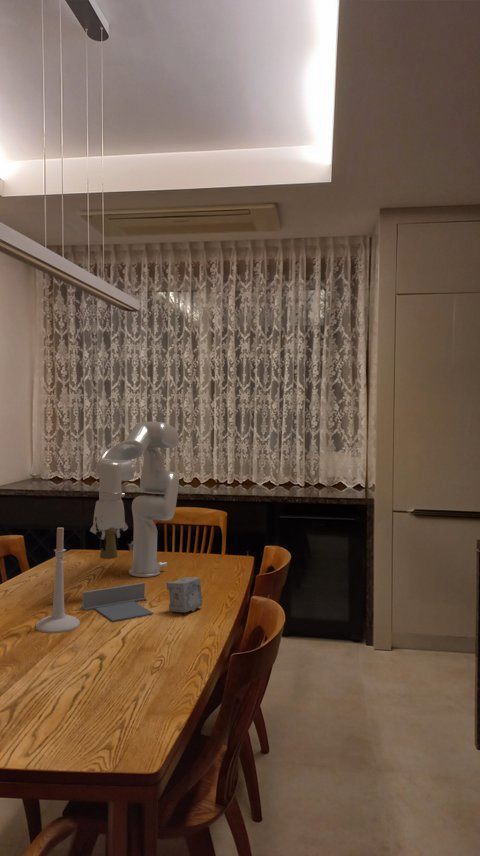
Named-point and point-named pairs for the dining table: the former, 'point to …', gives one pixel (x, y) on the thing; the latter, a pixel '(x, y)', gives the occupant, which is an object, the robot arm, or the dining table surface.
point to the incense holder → (185, 594)
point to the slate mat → (123, 611)
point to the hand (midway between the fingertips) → (108, 548)
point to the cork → (109, 545)
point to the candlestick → (58, 598)
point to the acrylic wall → (113, 596)
